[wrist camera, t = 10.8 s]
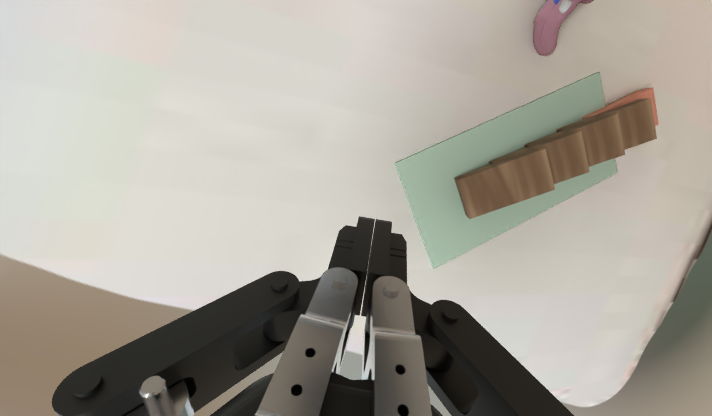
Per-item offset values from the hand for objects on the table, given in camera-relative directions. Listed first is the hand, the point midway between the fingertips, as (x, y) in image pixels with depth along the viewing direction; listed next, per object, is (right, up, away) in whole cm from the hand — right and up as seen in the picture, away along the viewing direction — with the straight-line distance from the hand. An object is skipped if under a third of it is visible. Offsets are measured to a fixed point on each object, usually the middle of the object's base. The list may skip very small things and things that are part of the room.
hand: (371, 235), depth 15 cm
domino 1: (+12, +2, +24) cm, 27 cm away
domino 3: (+21, +7, +25) cm, 34 cm away
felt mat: (+20, +6, +26) cm, 33 cm away
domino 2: (+16, +4, +25) cm, 30 cm away
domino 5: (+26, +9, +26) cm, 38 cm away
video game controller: (+23, +25, +24) cm, 41 cm away
